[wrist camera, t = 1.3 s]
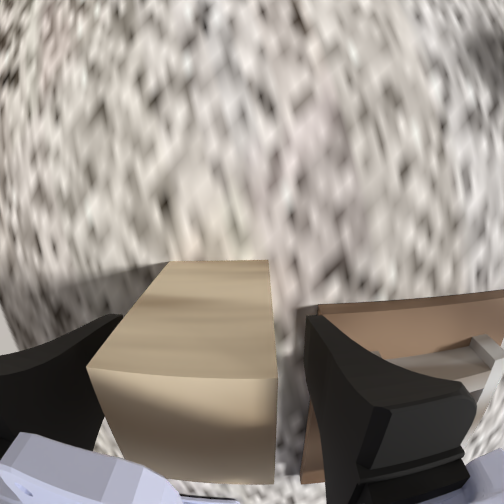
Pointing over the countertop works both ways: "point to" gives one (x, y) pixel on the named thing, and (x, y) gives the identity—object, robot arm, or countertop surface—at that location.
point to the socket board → (422, 348)
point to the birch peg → (195, 374)
